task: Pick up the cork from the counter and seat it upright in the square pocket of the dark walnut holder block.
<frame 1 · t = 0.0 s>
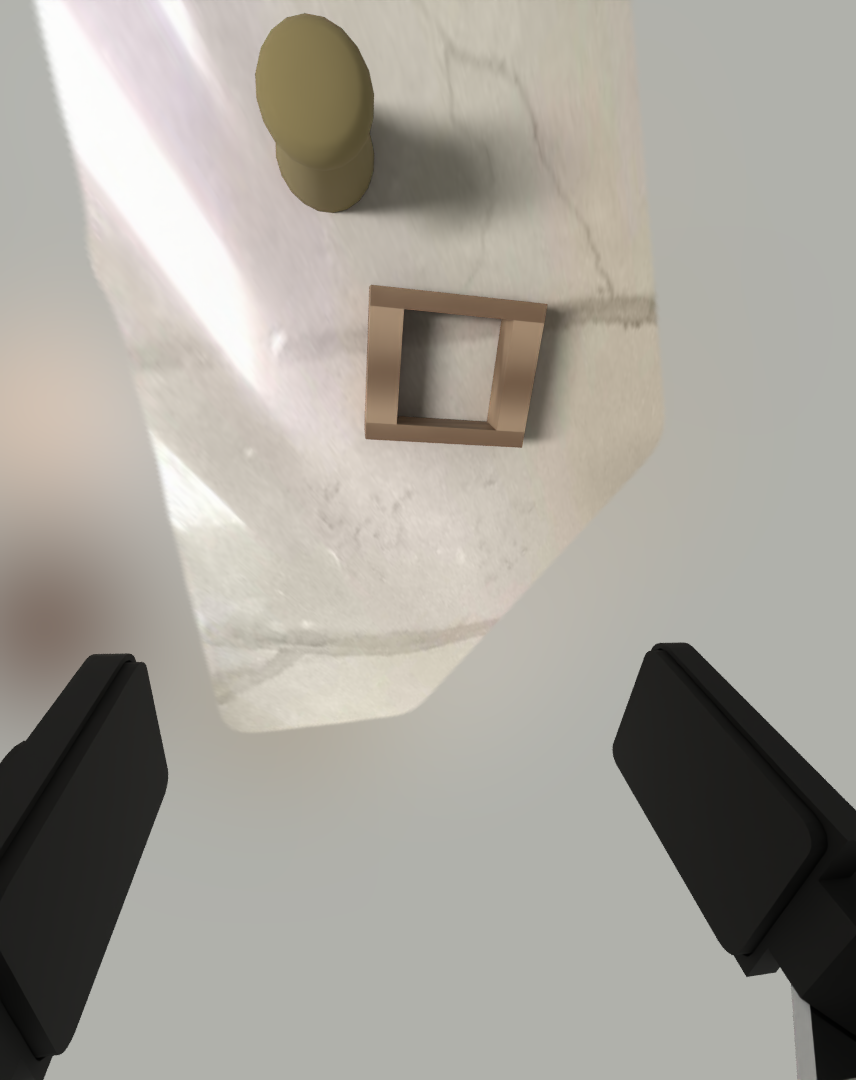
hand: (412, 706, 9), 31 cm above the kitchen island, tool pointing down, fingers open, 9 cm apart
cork: (325, 155, 30), on the kitchen island
walnut holder: (446, 368, 37), on the kitchen island
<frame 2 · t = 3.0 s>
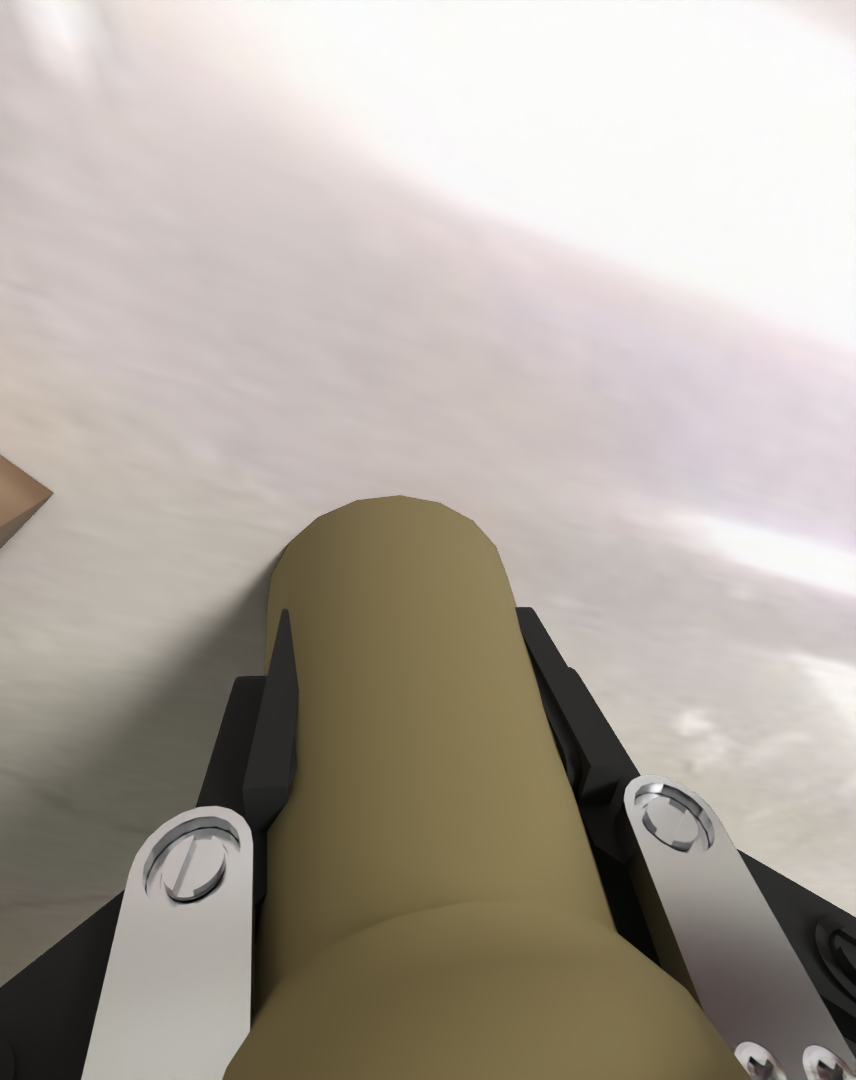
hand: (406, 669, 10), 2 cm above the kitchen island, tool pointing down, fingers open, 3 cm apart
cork: (391, 603, 12), on the kitchen island, touching gripper
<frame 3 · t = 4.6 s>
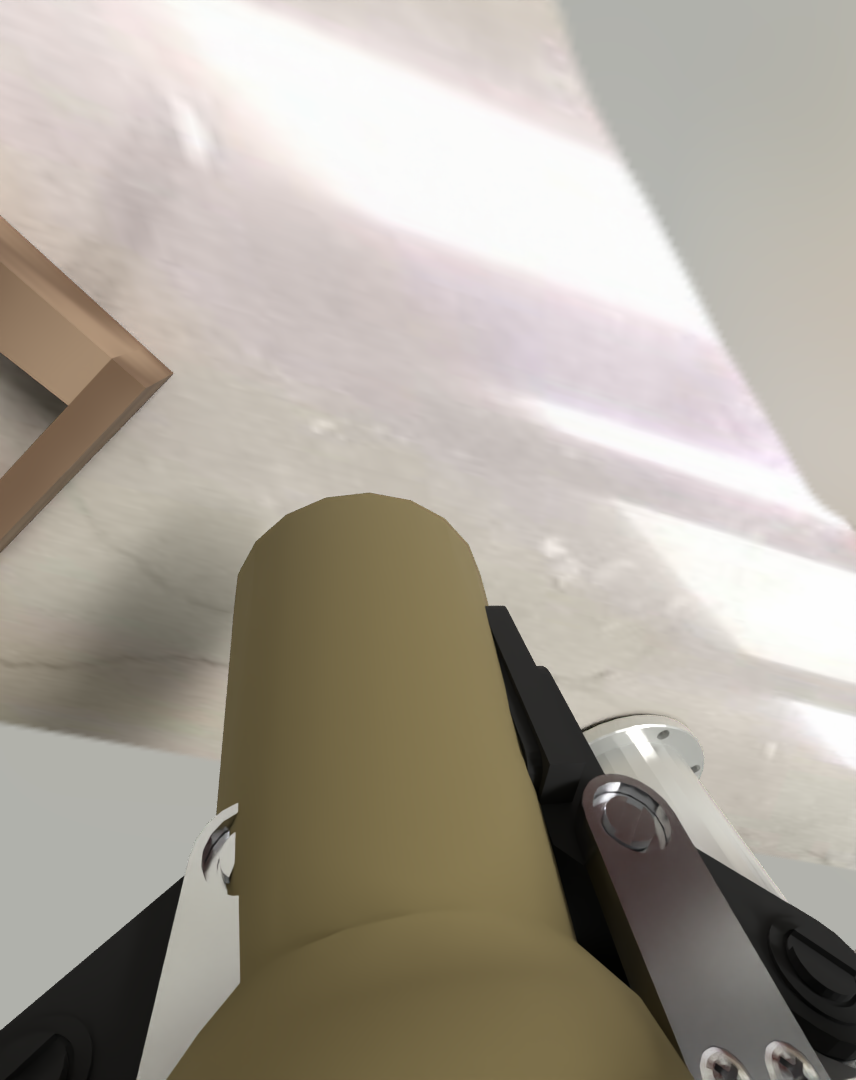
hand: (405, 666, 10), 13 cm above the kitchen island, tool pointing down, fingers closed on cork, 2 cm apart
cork: (363, 602, 12), point 10 cm above the kitchen island, touching gripper
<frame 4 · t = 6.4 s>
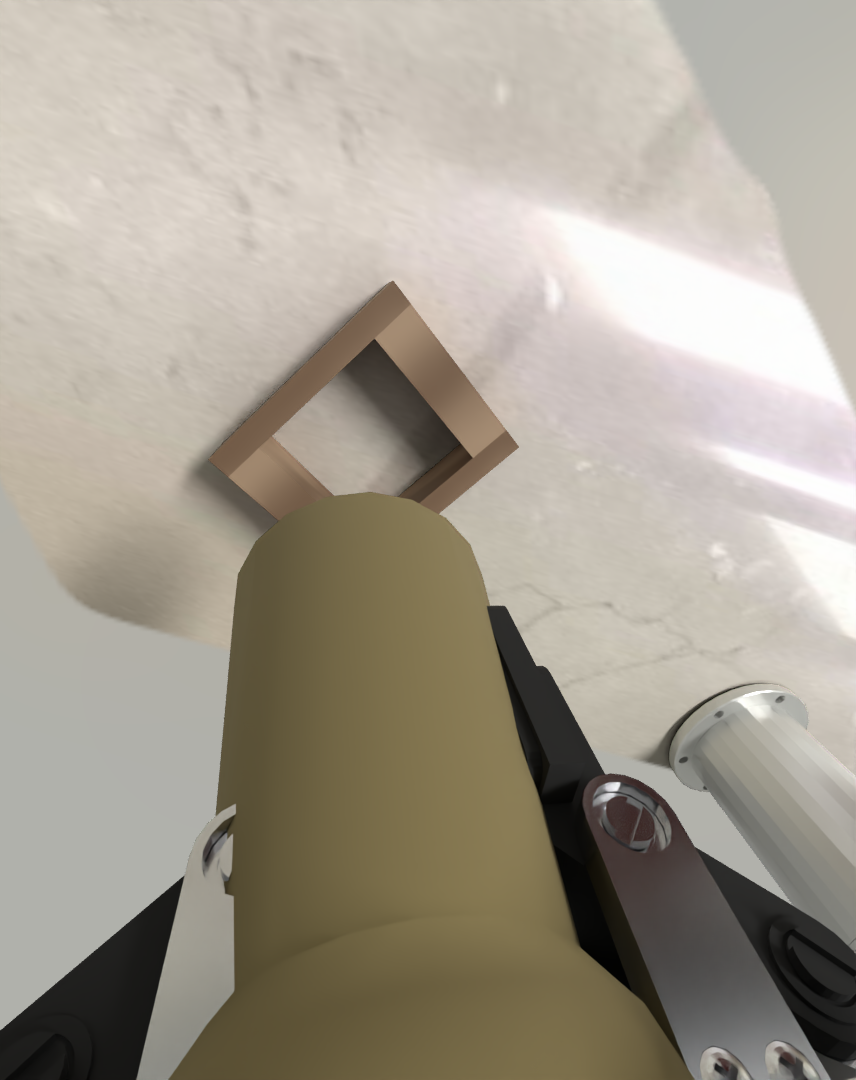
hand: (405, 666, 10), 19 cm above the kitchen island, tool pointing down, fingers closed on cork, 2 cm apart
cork: (363, 602, 12), point 17 cm above the kitchen island, touching gripper
walnut holder: (368, 438, 27), on the kitchen island
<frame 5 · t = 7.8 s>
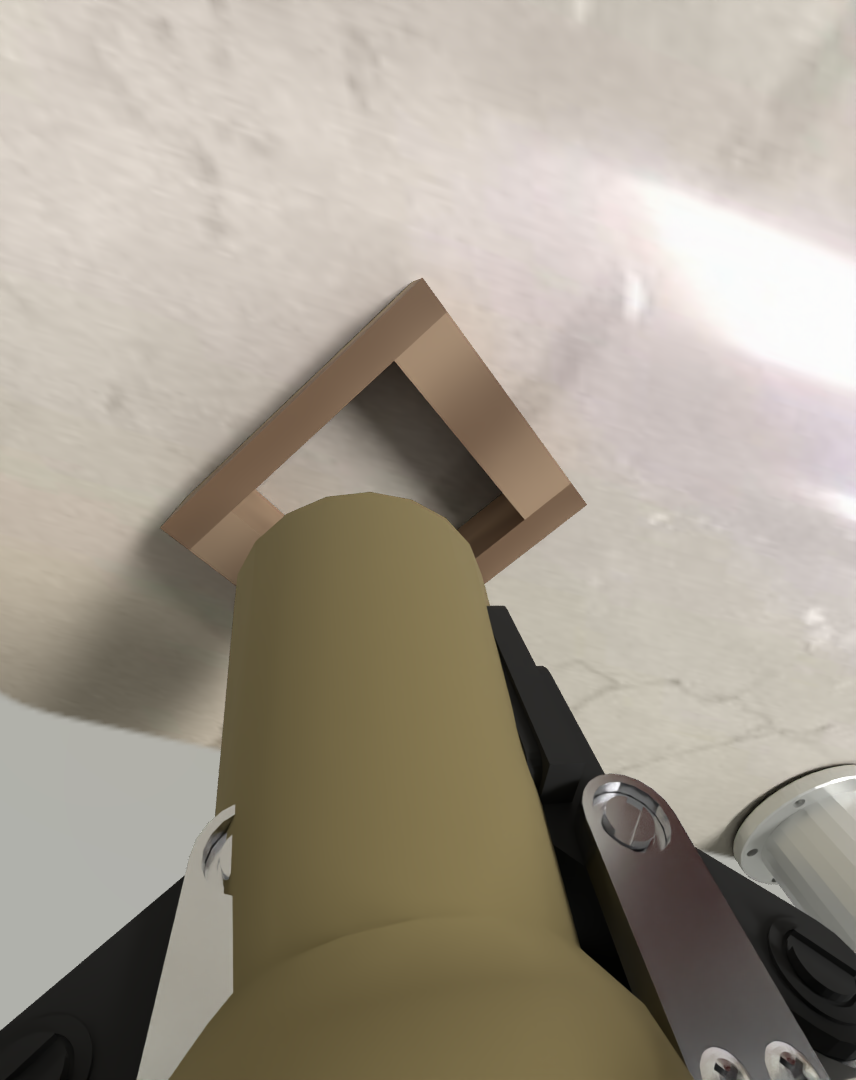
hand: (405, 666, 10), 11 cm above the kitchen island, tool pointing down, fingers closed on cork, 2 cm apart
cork: (363, 602, 12), point 9 cm above the kitchen island, touching gripper
walnut holder: (381, 488, 20), on the kitchen island
when the fingers open (5 cm above the kitchen island, at t = 9.3 s): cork drops 2 cm, resting in walnut holder.
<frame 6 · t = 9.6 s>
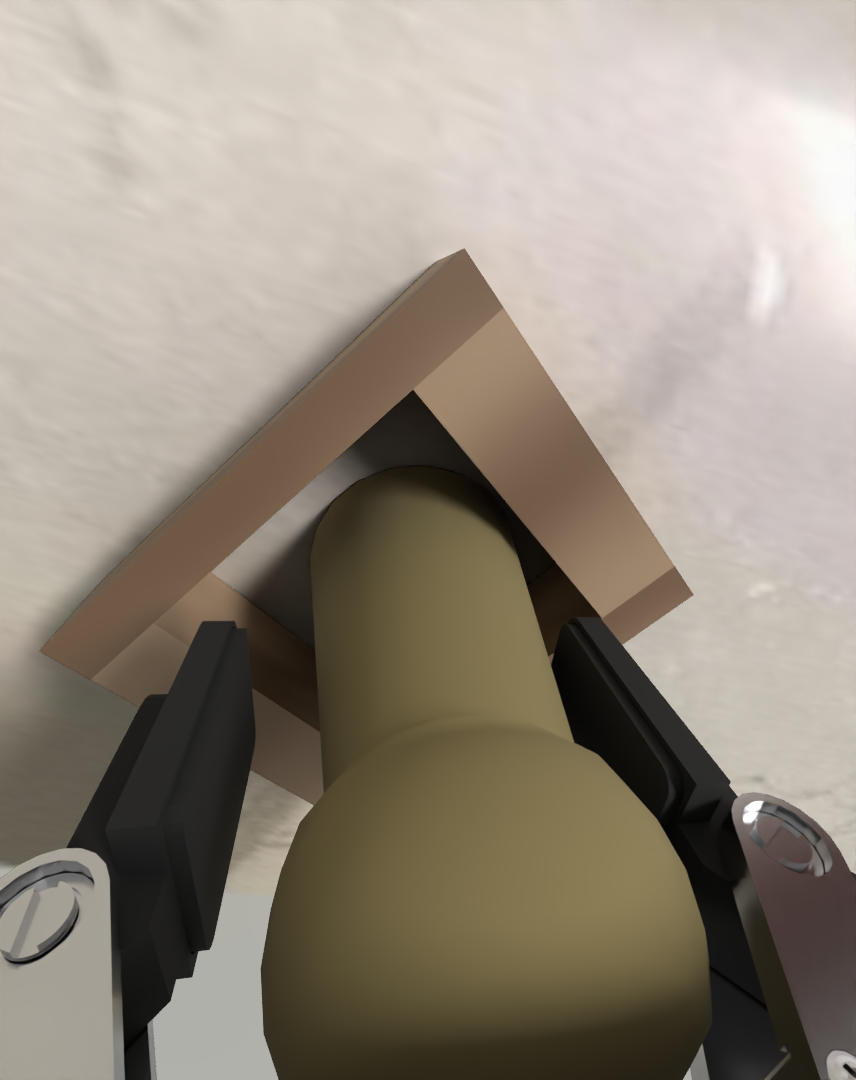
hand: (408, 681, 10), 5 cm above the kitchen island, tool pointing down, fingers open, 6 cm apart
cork: (413, 560, 14), resting in walnut holder, touching gripper
walnut holder: (386, 560, 14), on the kitchen island
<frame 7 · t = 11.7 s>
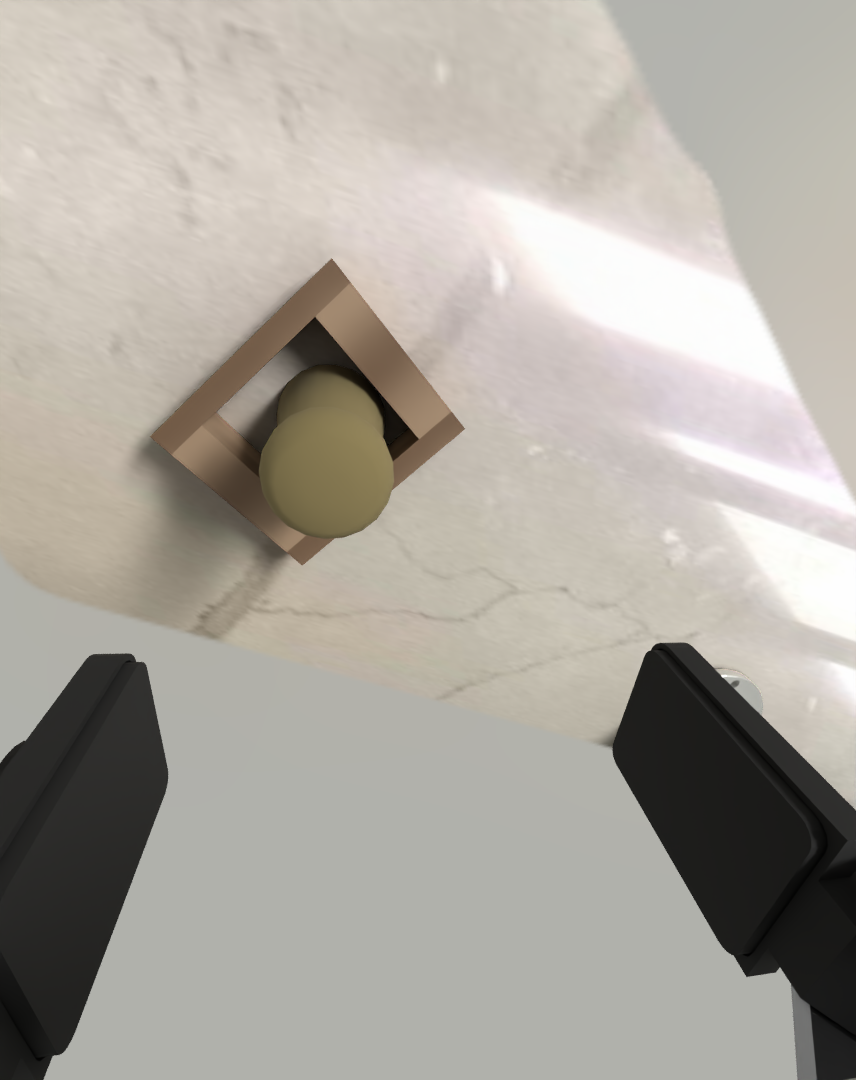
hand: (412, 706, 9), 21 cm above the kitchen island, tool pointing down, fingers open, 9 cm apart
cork: (332, 419, 27), resting in walnut holder
walnut holder: (317, 419, 27), on the kitchen island
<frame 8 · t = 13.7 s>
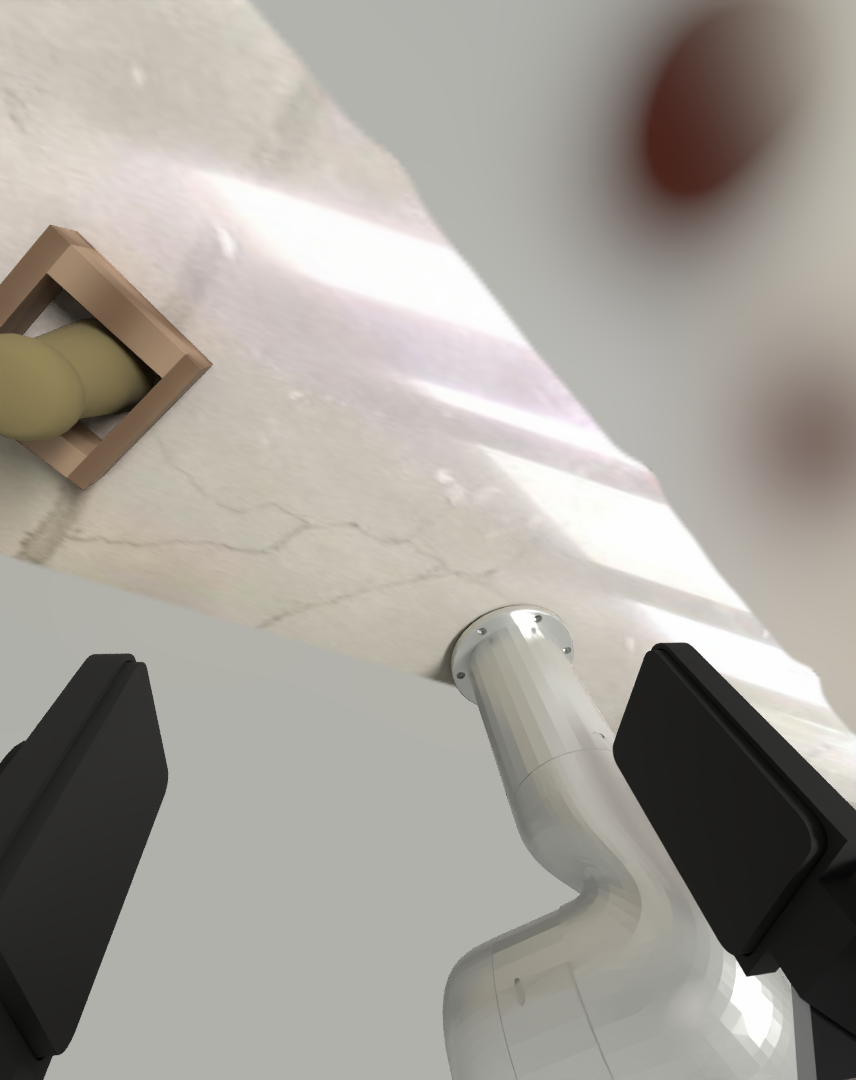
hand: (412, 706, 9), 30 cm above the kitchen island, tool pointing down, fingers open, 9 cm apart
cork: (106, 367, 33), resting in walnut holder
walnut holder: (91, 366, 32), on the kitchen island
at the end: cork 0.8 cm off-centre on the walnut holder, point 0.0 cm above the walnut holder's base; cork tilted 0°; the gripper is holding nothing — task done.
